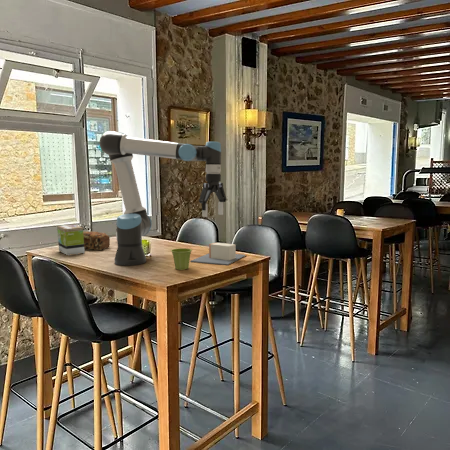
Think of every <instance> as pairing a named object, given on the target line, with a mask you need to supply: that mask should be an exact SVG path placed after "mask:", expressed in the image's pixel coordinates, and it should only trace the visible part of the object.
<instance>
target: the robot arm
mask: <svg viewBox="0 0 450 450" xmlns="http://www.w3.org/2000/svg"><path fill="white" fill-rule="evenodd" d="M99 147H100V149H101V151H102V152H103V153H104V154H106V155H108V156H109V157H108V158H109V161H110V163H112V164H113V165H114V169H115V172H116V177H117V179H118V181H117V182H118V184H119V185H118V186H119V188H120V189H119V190H120V193H121V198H122V200H123V204H124V209H125V211H124V212H123V214H120V215H119V216H117V218H116V229H117V239H116V241H117V242H116V243H117V248H116V253H115V256H114V264H115V265H117V266H139V265H142V264H145V263H146V262H147V257H146V254H145V250H144V247H143V242H142V241H143V237H144V236H146V235H147V234H148V233H150V231H151V229H152V224H153V223H152V219H151V217H150V216H149V215H148V212H147V208H145V207H144V206H143V205H142V200H141V196H140V192H139V188H138V183H137V180H136V176H135V172H134V168H133V163H132V160H133V158H134V155H141V156H146V157H147V156H150V157H158V158H165V159H175V160H181V161H184V162H205V173H206V174H205V181H206V182H207V183H206V182H203V184H202V189H201V192H200V196H199V199H198V203H199V204H201V216H202V218H208V201H209V199H210V197H211V194H213V193H215V196H216V197H217V200H218V202H217V203H218V205H217V211H218V212H217V215H219V216H220V215H221V216H223V215H224V203H226V202H227V197H226V192H225V189H224V183H223V182H221V181H222V174H221V173H222V169H221V167H222V165H221V164H222V144H221V142H220V141H206V142H205V145H194V144H191V143H181V142H180V143H179V142H173V141H165V140H164V141H163V140H156V139H147V138H140V137H132V136H128V135H127V134H125V133H123V132H118V131H113V130H112V131H111V130H109V131H105V132H103V134H102V135H101V136H100V138H99Z"/></svg>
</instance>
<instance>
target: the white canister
mask: <svg viewBox="0 0 450 450" xmlns="http://www.w3.org/2000/svg"><path fill="white" fill-rule="evenodd" d="M236 245H237V244H232V243H225V242H213V243H209V245H208V248H209V249H208V250H209V251H208V252H209V258H215V259H222V260H232V259H235V258H236V254H237V252H236V250H237V249H236Z"/></svg>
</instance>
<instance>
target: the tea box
mask: <svg viewBox="0 0 450 450" xmlns="http://www.w3.org/2000/svg"><path fill="white" fill-rule="evenodd" d="M56 230H57V239H58V240H57V242H58V251H59V252H60V251H61V253H63V254H64V255H65V254H66V255H65V256H67V255H68V256H71V255H70V254H76V255H79V254H78V253H83V254H85V251H86V250H85V249H84V234H83V232H84V227H82V226H81V225H77V224H65V225H57V229H56Z"/></svg>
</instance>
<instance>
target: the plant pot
mask: <svg viewBox="0 0 450 450" xmlns="http://www.w3.org/2000/svg"><path fill="white" fill-rule="evenodd" d="M192 251H193V249H191V248H173V249H171V250H170V252H171V254H172V256H173V257H172V258H173V263H174V267H175V268H174V269H175V270H178V271H183V270H185V271H186V269H187V270H188V269H189V267H190V261H191V260H190V259H191V254H192Z"/></svg>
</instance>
